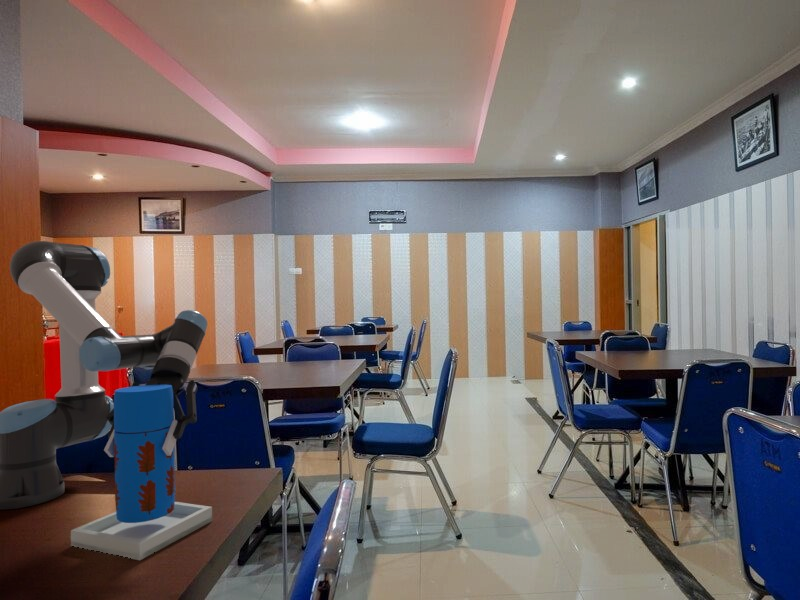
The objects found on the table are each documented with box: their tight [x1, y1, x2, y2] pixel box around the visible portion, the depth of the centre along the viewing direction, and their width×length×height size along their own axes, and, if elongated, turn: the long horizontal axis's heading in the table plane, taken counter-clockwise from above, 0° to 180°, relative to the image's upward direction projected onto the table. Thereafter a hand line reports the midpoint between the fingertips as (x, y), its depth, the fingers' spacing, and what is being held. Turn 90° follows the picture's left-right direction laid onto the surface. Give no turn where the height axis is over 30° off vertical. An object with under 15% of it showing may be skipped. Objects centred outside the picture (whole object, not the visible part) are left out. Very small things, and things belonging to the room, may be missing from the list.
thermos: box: [113, 385, 176, 523], centre depth 102 cm, size 11×11×25 cm
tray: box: [70, 501, 213, 561], centre depth 102 cm, size 18×18×3 cm
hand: (137, 452), depth 99 cm, fingers closed on thermos, 11 cm apart
